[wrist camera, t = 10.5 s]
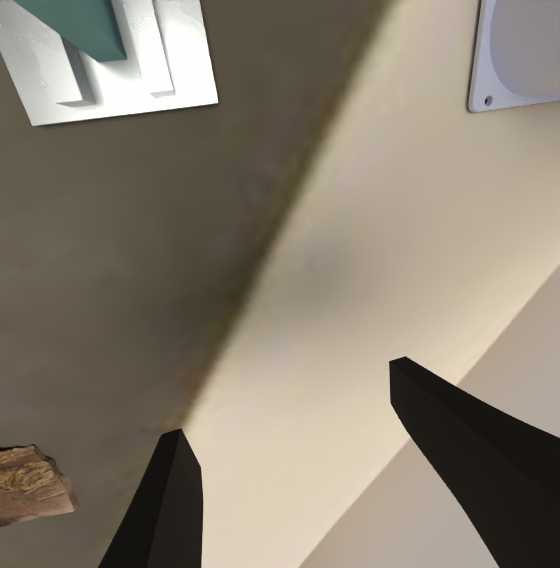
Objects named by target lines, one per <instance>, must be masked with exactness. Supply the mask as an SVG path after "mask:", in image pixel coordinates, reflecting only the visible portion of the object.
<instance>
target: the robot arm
mask: <svg viewBox="0 0 560 568" xmlns="http://www.w3.org/2000/svg"><path fill="white" fill-rule="evenodd" d="M486 98H487V103H486V105H485V99H486ZM558 100H560V0H482V2H481V10H480V18H479V26H478V33H477V41H476V49H475V57H474V65H473V72H472V80H471V88H470V96H469V103H468V105H469V110H470V111H471V112H483V111H490V110H496V109H503V108H510V107H517V106H524V105H530V104H537V103H544V102H551V101H558ZM389 370H390V399H391V405H392V406H393V408H394V410H395V412H396V414H397V415H398V417H399V419H400V421H401V422H402V424H403V426H404V427H405V429H406V431H407V432H408V433H409V435H410V436H411V438H412V439H413V440H414V442H415V443H416V445H417V446H418V447H419V449H420V450H421V451H422V453H423V454H424V455H425V456H426V458H427V460H428V461H429V462H430V464H431V465H432V466H433V468H434V469H435V470H436V472H437V473H438V474H439V476H440V477H441V479H442V480H443V481H444V483H445V484H446V485H447V487H448V488H449V489H450V491H451V492H452V493H453V495H454V496H455V498H456V499H457V501H458V502H459V504H460V505H461V506H462V508H463V509H464V511H465V512H466V514H467V516H468V517H469V519H470V520H471V522H472V524H473V525H474V527H475V528H476V530H477V532H478V533H479V535H480V537H481V538H482V540H483V541H484V543H485V545H486V546H487V548H488V550H489V551H490V553H491V555H492V556H493V558H494V560H495V561H496V563H497V565H498V566H499V568H560V438H558V437H556V436H554V435H552V434H549V433H547V432H545V431H543V430H540V429H538V428H536V427H534V426H531V425H529V424H527V423H525V422H523V421H521V420H518V419H516V418H514V417H512V416H510V415H508V414H506V413H504V412H502V411H500V410H498V409H496V408H494V407H493V406H490V405H489V404H487V403H485V402H483V401H481V400H479V399H477V398H475V397H474V396H472V395H470V394H468V393H467V392H465V391H463V390H461V389H459V388H458V387H456V386H454V385H453V384H451V383H449V382H447V381H446V380H444V379H442V378H441V377H439V376H437V375H436V374H434V373H432V372H431V371H429V370H427V369H426V368H424V367H422V366H421V365H419V364H417V363H416V362H414V361H412V360H411V359H409V358H407V357H406V356H405V357H402V358H399V359H395V360H392V361H389ZM202 530H203V489H202V476H201V467H200V465H199V463H198V461H197V459H196V457H195V455H194V453H193V451H192V449H191V447H190V445H189V443H188V441H187V439H186V437H185V435H184V433H183V431H182V429H181V428H180V429H177V430H174V431H171V432H168V433H165V434H162V435H161V437H160V439H159V441H158V443H157V446H156V448H155V450H154V453H153V455H152V457H151V460H150V462H149V464H148V467H147V469H146V471H145V473H144V476H143V478H142V480H141V482H140V485H139V487H138V489H137V491H136V493H135V495H134V497H133V500H132V502H131V504H130V506H129V508H128V510H127V512H126V514H125V516H124V518H123V520H122V522H121V524H120V526H119V528H118V530H117V532H116V534H115V536H114V538H113V540H112V542H111V544H110V546H109V548H108V550H107V551H106V553H105V555H104V557H103V559H102V561H101V563H100V565H99V566H98V568H201V558H202Z"/></svg>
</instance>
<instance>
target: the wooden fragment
mask: <svg viewBox="0 0 560 568" xmlns="http://www.w3.org/2000/svg"><path fill="white" fill-rule="evenodd" d="M45 457H46V456H44V455H43V454H42V453H41V452H40V451H39V449H38V448H37V447H36V446H28V447H24V448H17V447H15V448H12V449H7V450H5V451H1V450H0V527H2V526H7V525H10V524H15V523H19V522H22V521H26V520H27V521H28V520H31V519H34V518H40V517H43V516H52V515H57V514H64V513H67V512H72V511H74V510H75V509H76V508H77V507H78V506H79V504H78V502H77V500H76V498H75V495H74V492H73V489H72V483H71V480H70V479H69V478H68V477H67V476H65V475H63V474H61V473H60V472H59V471H58V469H57V467H56V465H55V461H53V460H52V459H51V458H45Z"/></svg>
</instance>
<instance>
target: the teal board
mask: <svg viewBox="0 0 560 568" xmlns="http://www.w3.org/2000/svg"><path fill="white" fill-rule="evenodd" d="M13 1H14V2H16V3H17V4H18V5H20V6H21V7H23V8H24V9H25V10H27V11H28V12H29V13H31V14H32V15H34V16H35V17H36V18H38V19H39V20H40V21H42V22H43V23H44V24H46V25H47V26H49V27H50V28H51V29H53V30H54V31H55V32H57V33H58V34H60V35H61V36H62V37H64V38H65V39H66V40H68V41H69V42H70V43H72V44H73V45H75V46H76V47H77V48H79V49H80V50H81V51H83V52H84V53H86V54H87V55H88V56H90V57H91V58H92V59H94V60H95V61H96V62H107V61H117V60H127V55H126V52H125V48H124V45H123V41H122V38H121V34H120V31H119V27H118V24H117V20H116V17H115V13H114V10H113V6H112V3H111V0H13Z"/></svg>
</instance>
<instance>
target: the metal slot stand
mask: <svg viewBox="0 0 560 568" xmlns="http://www.w3.org/2000/svg"><path fill="white" fill-rule="evenodd" d="M111 3H112V6H113V10H114V13H115V17H116V20H117V24H118V27H119V31H120V34H121V38H122V41H123V45H124V48H125V52H126V55H127V60H117V61H107V62H96V61H95V60H94V59H92V58H91V57H90V56H88V55H87V54H86V53H84V52H83V51H81V50H80V49H79V48H77V47H76V46H75V45H73V44H72V43H70V42H69V41H68V40H66V39H65V38H64V37H62V36H61V35H60V34H58V33H57V32H55V31H54V30H53V29H51V28H50V27H49V26H47V25H46V24H44V23H43V22H42V21H40V20H39V19H38V18H36V17H35V16H34V15H32V14H31V13H29V12H28V11H27V10H25V9H24V8H23V7H21V6H20V5H18V4H17V3H16V2H14V1H13V0H0V52H1V54H2V56H3V59H4V61H5V63H6V66H7V68H8V70H9V72H10V75H11V77H12V79H13V82H14V84H15V86H16V89H17V91H18V93H19V96H20V98H21V100H22V103H23V105H24V107H25V110H26V112H27V114H28V117H29V119H30V121H31V123H32V126H40V127H42V126H50V125H58V124H66V123H74V122H82V121H90V120H98V119H106V118H114V117H122V116H130V115H138V114H146V113H154V112H162V111H170V110H178V109H186V108H194V107H202V106H210V105H218V99H217V93H216V88H215V83H214V77H213V72H212V66H211V61H210V56H209V50H208V45H207V39H206V34H205V29H204V23H203V18H202V13H201V7H200V2H199V0H111Z"/></svg>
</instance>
